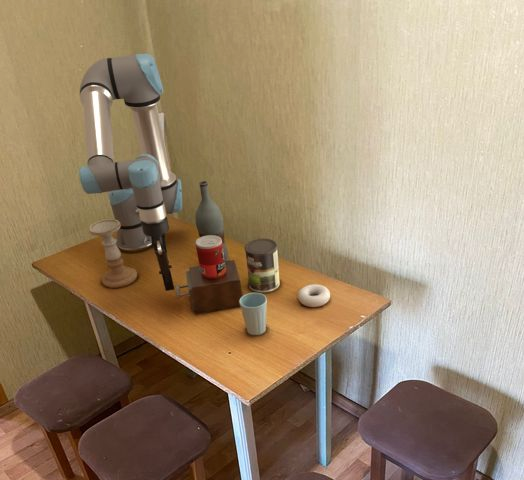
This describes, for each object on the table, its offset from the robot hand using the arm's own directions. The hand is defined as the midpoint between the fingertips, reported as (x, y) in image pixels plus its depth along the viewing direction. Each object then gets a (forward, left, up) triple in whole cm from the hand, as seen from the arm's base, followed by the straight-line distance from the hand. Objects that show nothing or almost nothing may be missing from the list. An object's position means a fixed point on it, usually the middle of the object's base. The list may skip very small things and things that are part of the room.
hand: (169, 289), depth 164 cm
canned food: (0, +14, +3) cm, 15 cm away
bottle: (-22, +16, -7) cm, 28 cm away
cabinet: (0, +14, -7) cm, 16 cm away
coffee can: (-4, +30, -7) cm, 31 cm away
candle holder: (-24, -18, -7) cm, 30 cm away
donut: (+10, +43, -7) cm, 45 cm away
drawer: (0, +10, -6) cm, 12 cm away
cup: (+20, +23, -7) cm, 32 cm away
